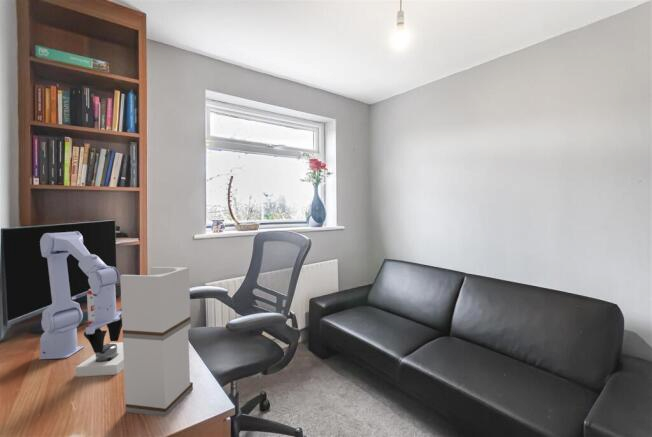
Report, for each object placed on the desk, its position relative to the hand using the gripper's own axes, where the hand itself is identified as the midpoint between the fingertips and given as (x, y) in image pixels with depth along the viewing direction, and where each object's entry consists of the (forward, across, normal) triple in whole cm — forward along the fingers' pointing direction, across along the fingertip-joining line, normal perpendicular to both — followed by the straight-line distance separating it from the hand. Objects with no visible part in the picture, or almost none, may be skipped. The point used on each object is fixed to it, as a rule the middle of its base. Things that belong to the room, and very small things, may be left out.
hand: (106, 346), depth 93 cm
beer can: (+7, +39, +30) cm, 50 cm away
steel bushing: (+6, 0, 0) cm, 7 cm away
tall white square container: (+7, -19, -26) cm, 33 cm away
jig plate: (+7, +3, 0) cm, 7 cm away
